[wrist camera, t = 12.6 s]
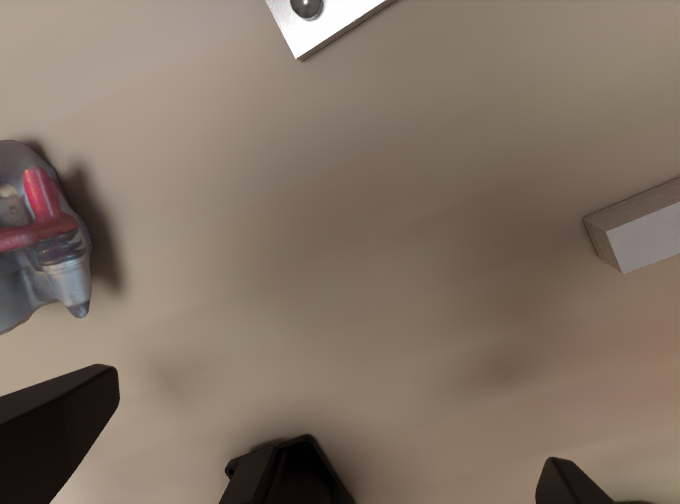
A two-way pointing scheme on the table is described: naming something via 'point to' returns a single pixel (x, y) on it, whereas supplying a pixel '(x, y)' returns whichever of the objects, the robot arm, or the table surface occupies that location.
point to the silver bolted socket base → (320, 21)
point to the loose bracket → (638, 228)
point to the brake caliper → (38, 240)
